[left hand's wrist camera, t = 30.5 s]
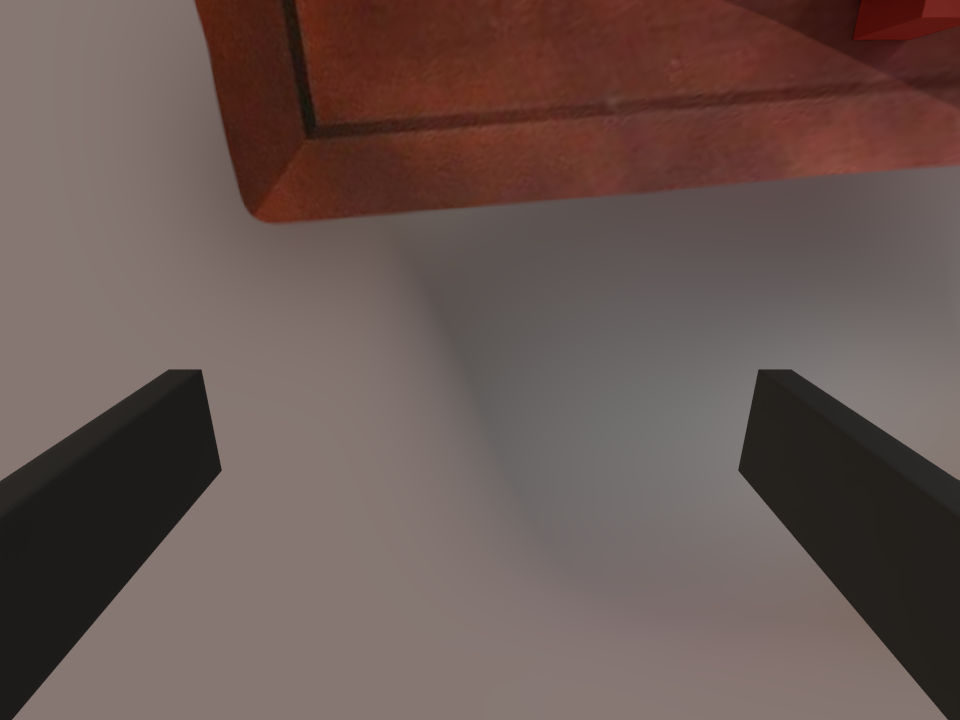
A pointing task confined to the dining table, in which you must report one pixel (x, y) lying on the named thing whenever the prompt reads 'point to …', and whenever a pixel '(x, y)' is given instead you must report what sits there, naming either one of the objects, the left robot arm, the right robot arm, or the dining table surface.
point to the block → (904, 18)
